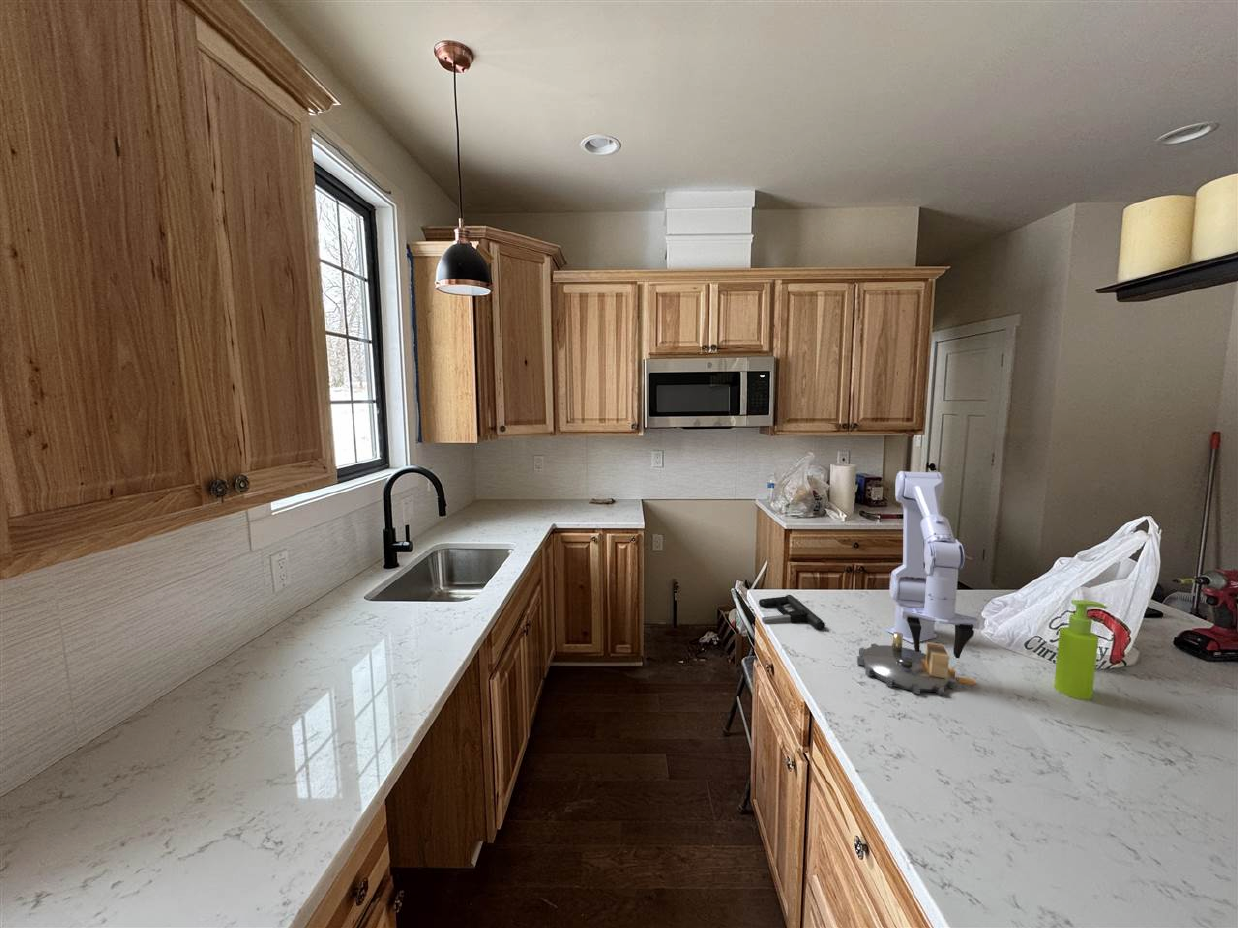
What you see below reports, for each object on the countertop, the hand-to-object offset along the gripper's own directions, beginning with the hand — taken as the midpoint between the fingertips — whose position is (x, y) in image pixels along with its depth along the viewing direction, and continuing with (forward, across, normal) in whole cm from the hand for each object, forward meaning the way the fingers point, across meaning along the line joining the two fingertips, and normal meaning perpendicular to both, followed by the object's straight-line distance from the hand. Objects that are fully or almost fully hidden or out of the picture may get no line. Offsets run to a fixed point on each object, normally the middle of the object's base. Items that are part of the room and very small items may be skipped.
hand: (936, 652), depth 109 cm
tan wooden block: (+4, 0, -1) cm, 4 cm away
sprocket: (+6, -6, 0) cm, 8 cm away
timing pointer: (+6, +6, 0) cm, 8 cm away
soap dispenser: (+6, +26, +4) cm, 27 cm away
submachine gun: (+6, -33, +21) cm, 40 cm away
